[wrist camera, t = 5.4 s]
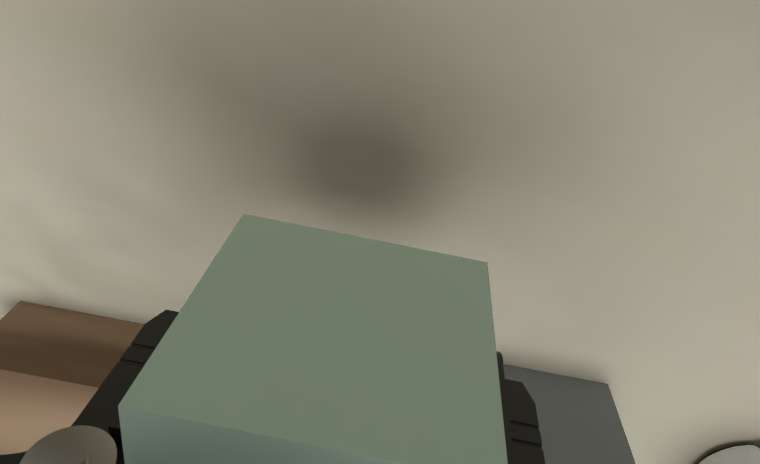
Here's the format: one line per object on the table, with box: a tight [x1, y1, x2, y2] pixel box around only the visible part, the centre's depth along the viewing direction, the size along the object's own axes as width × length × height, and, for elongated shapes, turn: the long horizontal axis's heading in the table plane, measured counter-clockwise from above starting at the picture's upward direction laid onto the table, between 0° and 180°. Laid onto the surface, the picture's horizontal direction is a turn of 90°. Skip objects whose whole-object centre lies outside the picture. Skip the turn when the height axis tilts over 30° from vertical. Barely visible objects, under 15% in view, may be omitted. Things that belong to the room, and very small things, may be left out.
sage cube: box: [118, 214, 508, 464], centre depth 10 cm, size 5×5×5 cm
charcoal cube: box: [503, 364, 635, 464], centre depth 22 cm, size 5×5×5 cm
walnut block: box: [0, 301, 144, 455], centre depth 25 cm, size 12×12×4 cm
